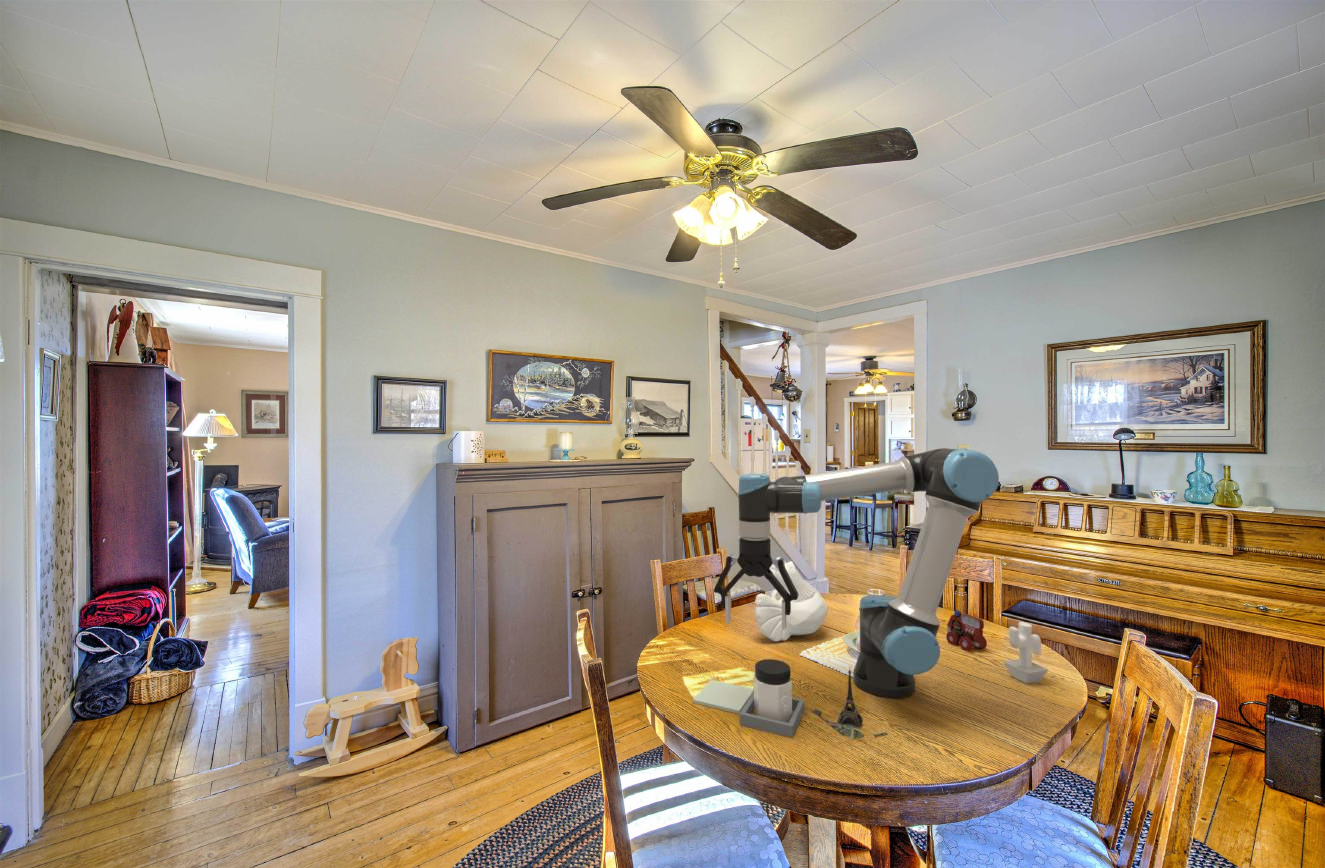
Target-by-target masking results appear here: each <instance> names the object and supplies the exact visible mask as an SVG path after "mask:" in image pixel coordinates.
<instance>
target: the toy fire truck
mask: <svg viewBox="0 0 1325 868" xmlns="http://www.w3.org/2000/svg"><path fill="white" fill-rule="evenodd" d="M984 623H985V621H984V620H983V619H982V618H979V617H976V616H974V615H971V614H968V613H962V612H961V611H960V610H955V611H954V613H953V614H952V615H950V617H949V619H948V622H947V624H946V626H947V631H946V632H947V633H946V640H947V642H948V643H949V644H950V645H951V646H956V645H959V646H960V648H961V649H962V650H963V651H965V652H971V651H973V649H974V648H977V649H979V650H983V649H986V648H987V646H988V643H987V639H986V638H985V636H984V633H983V632H984V631H983V629H984V628H985V624H984Z"/></svg>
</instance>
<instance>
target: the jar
mask: <svg viewBox="0 0 1325 868" xmlns="http://www.w3.org/2000/svg"><path fill="white" fill-rule="evenodd" d="M754 669H755V670H754V674H753V689H754V710H753V712H754V715H757V716H761V717H765V718H769V719H773V720H778V721H782V722H786V723H789V721H790V719H791V717H792V715H793V710H792V697H793V681H792V680H791V676H792V675H791V673H792V672H791V667H790V665H789V664H788V663H786V662H784V661H783V660H779V659H774V658H773V659H772V658H768V659H767V658H766V659H762V660H758V661H757V662H756V663H755V665H754Z"/></svg>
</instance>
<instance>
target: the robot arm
mask: <svg viewBox="0 0 1325 868" xmlns="http://www.w3.org/2000/svg"><path fill="white" fill-rule="evenodd" d="M770 477H771V476H770V475H769V474H765V473H744V474H741V475H740V476H739V479H738V492H737V493H738V535H739V536H740V538H739V539H738V543H739V544H738V545H739V546H738V547H739V548H738V550H739V552H738V553H739V555H738V556H733V554H729V555H728V556H726V559H725V566H724V568H723V570H722V572H721V574H720V576H719V578H718V580H717V582H716V584H715V586H714V588H713V592H714V593H715V594H719V595H720V599H721V600H720V601H721V604H720V605H721V609H723V610H724V609H725V611H724V612H725V617H724V618H725V621H724V622H725V624H729V623H730V622H731V621H732V606H731V604H732V602H731V599H732V597H731V596H732V595H731V593H729V592H730V590H731V589H732V588H733V587H734V586H735V585H736V584H737V583H738V581H740V579H741V578H742V577H743V576H744V575H746V576H748V577H758V578H761V577H763V576H764V578H765V579H766V580H767V581H768V582H769V583H770V584H771V586H772V587H773V588H774V590H775V589H776V590H777V592H778V593H779V594H780V595H781V596H782V598H783V600H782V630H785V629H786V615H790V612H791V601H792V600H797V598H798V592H797V590H796V588H795V586H794V584H793V582H792V580H791V578H790V576H789V574H788V572H787V570H786V568H785V564H784V561H785V559H784V558H782V557H780V559H775V558H774V559H773V558H772V556H771V553H772V552H771V539H770V536H771V514H804V515H806V514H814V513H818V512H820V510H821V506H822V502H825V501H832V500H839V499H840V500H841V499H847V498H853V497H860V496H867V495H875V494H882V493H888V492H889V493H890V492H896V491H901V490H902V491H904V492H907V493H908V494H909V493H910V494H911V493H915V492H925V494H924V497H925V500H926V501H927V503H928V507H927V510H926V513H925V516H924V519H923V522H922V525H921V528H920V530H919V533H918V537H917V539H916V543H915V546H914V549H913V552H912V553H911V554H912V555H911V558H910V561H909V563H908V566H907V569H906V572H905V576H904V578H903V581H902V585H901V587H900V590H899V593H898V595H897V596H894V595H882V594H881V595H880V594H872V595H871V594H869V595H864V596H862V597H861V598H860V600H859V608H858V610H859V653H858V657H857V660H856V663H855V665H854V668H853V672H852V673H853V674H852V675H853V678H852V679H853V683H854V684H855V685H856V686H857V687H858V688H859V689H860V690H862V691H864V692H866V693H869V694H871V695H875V696H879V697H883V698H892V699H893V698H894V699H896V698H898V699H899V698H900V699H901V698H906V697H910V696H912V695H913V694H915V692H916V680H915V676H916V675H921V674H924V673H927V672H929V671H931V670H932V669H933V668H934V667H935V666H936V665H937V663H938V662H939V660H940V656H941V647H940V644H939V641H938V639H937V635H938V633H939V628H940V625H941V622H940V620H939V618H938V616H937V611H938V608H939V605H940V602H941V598H942V596H943V592H944V590H945V587H946V585H947V584H946V583H947V582H948V578H949V575H950V572H951V569H952V567H953V563H954V562H955V561H954V560H955V558H956V554H957V552H958V548H959V545H960V542H961V540H962V537H963V534H964V531H965V528H966V525H967V522H968V519H969V518H970V517H972V516H974V515H976V514H978V513H979V510H980V508H981V506H982V505H981V504H982V502H983V501H985V500H987V499H989V498H990V497H991V496H993V495H994V493H995V492H996V490H997V488H998V485H999V480H1000V479H999V477H1000V476H999V471H998V468H997V467H996V465H995V463H994V461H993V460H992V459H991V458H990V457H989V456H988V455H986V454H985V453H982V452H980V451H978V450H973V449H968V448H947V447H946V448H945V447H944V448H943V447H942V448H937V449H930V450H927V451H924V452H919V453H916V454H910V455H909V454H908V455H904V456H900V457H899V459H898V460H897V461H890V462H884V463H883V462H882V463H877V464H871V465H869V464H868V465H864V466H855V467H850V468H849V467H848V468H844V469H837V470H836V469H835V470H828V471H823V472H822V471H821V472H817V473H810V474H804V475H797V476H791V477H790V476H780V477H779V478H776V479H775V480H774V481H771V478H770ZM736 563H737V564H738V566H739V567H740V568H741V569H739V571H738V573H736V574H735V576H733V578H732V579H731V581H729V582H728V584H727V585H726V586H724V588H723V584H724V583H725V581H726V578H727V577H728V575H729V573H730V571H731V569H732V567H733V566H734V565H735V564H736ZM772 564H773V565H775V567H776V568H777V569H779V572H780V574H781V576H782V578H783V580H784V582H785V584H786V586H787V588H788V590H789V592H790V594H789V593H788V592H787V591H786V589H785V588H784V587H783V586H782V584H781V583H780V582H779V581H778V580H777V578H776V577H775V576H774V575H773V573H772V571H771V570H770V569H769V568H770V567H771V566H772ZM778 593H777V594H778ZM779 594H778V595H779ZM780 595H779V596H780Z"/></svg>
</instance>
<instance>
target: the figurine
mask: <svg viewBox="0 0 1325 868" xmlns="http://www.w3.org/2000/svg"><path fill="white" fill-rule="evenodd" d="M1008 630H1009V631H1008V632H1009V633H1008V636H1009V637H1008V639H1009V644H1010V646H1011V648H1013V649H1018V659H1012V660H1011V659H1010V660H1006V661H1005V660H1004V661H1003V664H1004V666H1005V667H1006V669H1007V671H1008V672H1009V674H1010V675H1011V677H1012V678H1014V679H1016V680H1018V681H1020V682H1022V683H1024V684H1033V683H1040V682H1041V680H1042V679H1043V677H1044V676H1045V675H1046V674H1047V672H1048V671H1049V670H1050V669H1048V668H1047V667H1044V666H1041V664H1040V665H1039V664H1037V663H1034V662H1033V661H1032V660H1033V659H1032V658H1033V657H1032V656H1033V655H1035V656H1036V655H1037V656H1040V655H1042V639H1041V637H1040V636H1039V635H1038V634H1032V632H1033V625H1032V624H1030V623H1029V622H1025V621H1019V622H1018V627H1016V626H1009V628H1008ZM1032 654H1033V655H1032Z"/></svg>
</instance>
